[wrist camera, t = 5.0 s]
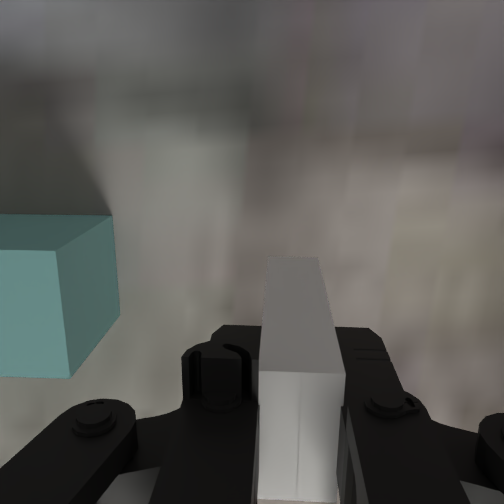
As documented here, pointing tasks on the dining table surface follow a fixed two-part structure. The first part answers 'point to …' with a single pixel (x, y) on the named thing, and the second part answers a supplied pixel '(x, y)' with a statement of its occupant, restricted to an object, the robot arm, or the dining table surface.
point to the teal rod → (54, 291)
